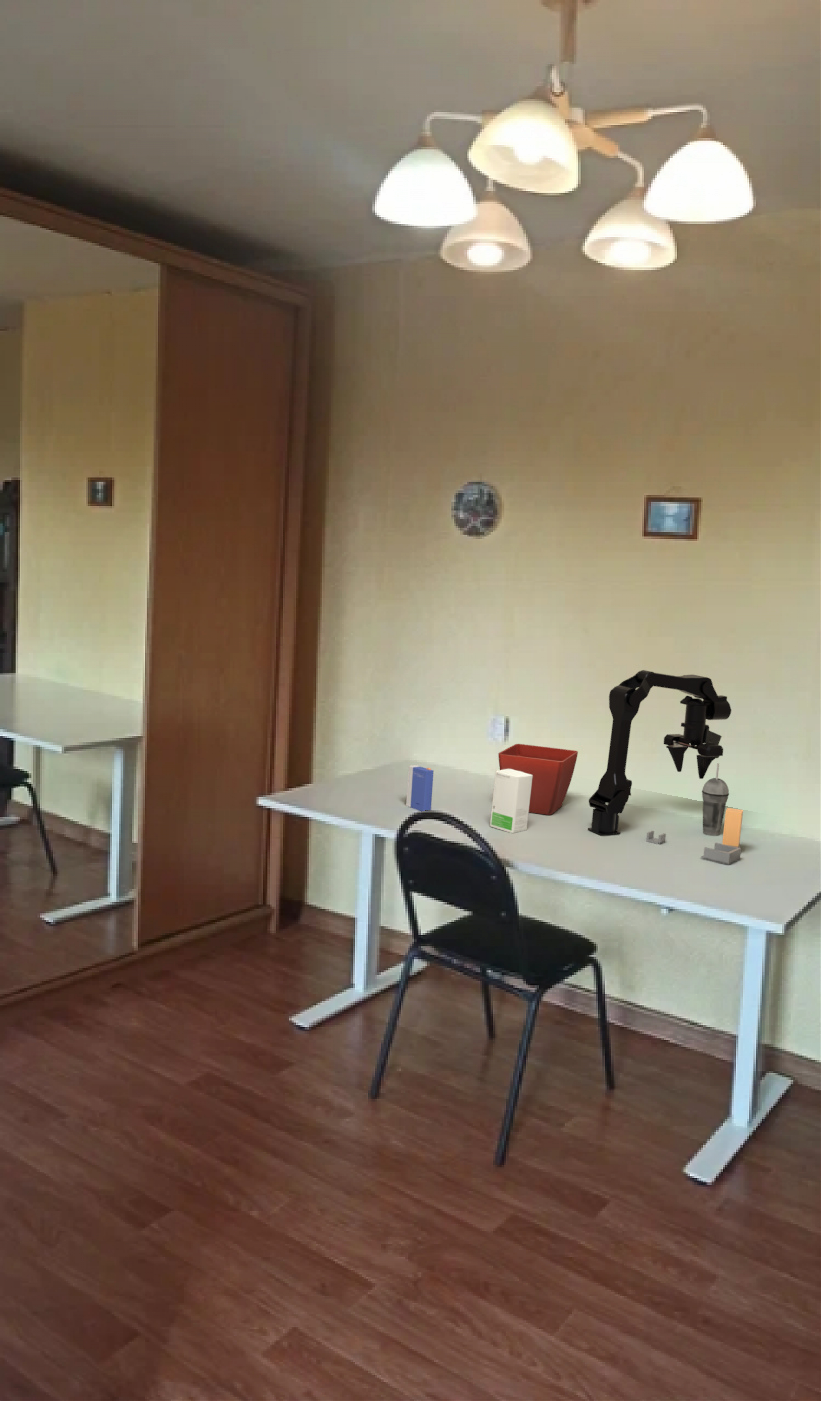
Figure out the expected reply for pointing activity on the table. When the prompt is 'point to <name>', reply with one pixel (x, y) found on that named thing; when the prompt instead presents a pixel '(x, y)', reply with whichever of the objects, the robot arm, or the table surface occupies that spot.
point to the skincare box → (511, 800)
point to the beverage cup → (714, 804)
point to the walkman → (419, 788)
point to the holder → (722, 854)
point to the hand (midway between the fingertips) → (690, 775)
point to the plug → (732, 827)
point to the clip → (654, 840)
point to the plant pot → (542, 773)
